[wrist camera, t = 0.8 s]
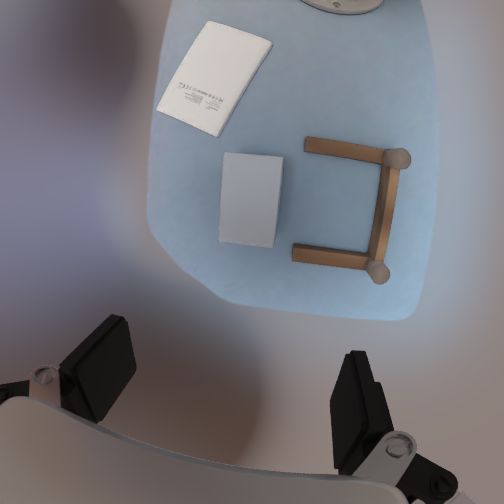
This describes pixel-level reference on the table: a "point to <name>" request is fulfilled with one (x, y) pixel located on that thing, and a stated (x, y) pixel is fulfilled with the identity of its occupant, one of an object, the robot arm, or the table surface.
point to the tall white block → (250, 199)
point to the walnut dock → (383, 214)
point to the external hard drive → (213, 77)
